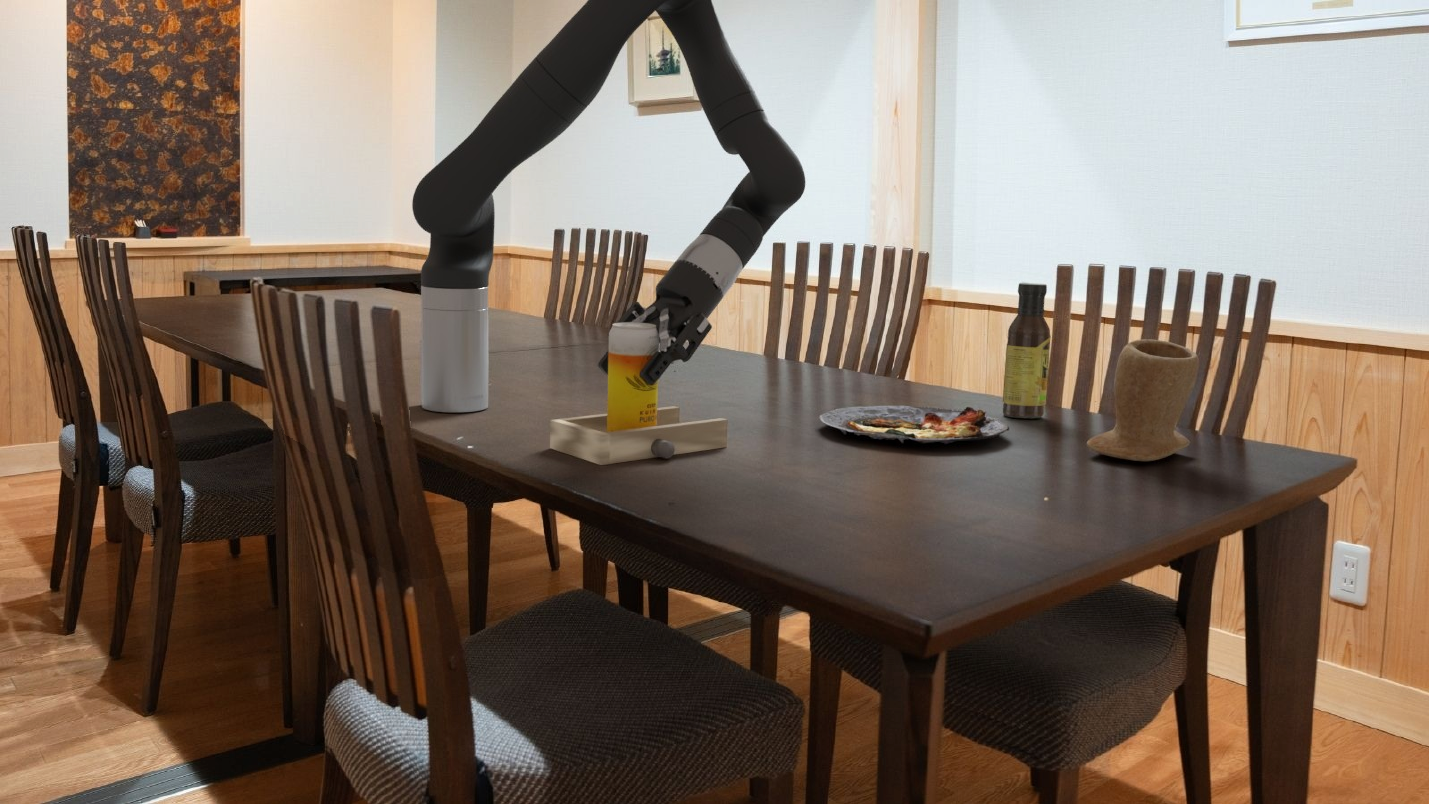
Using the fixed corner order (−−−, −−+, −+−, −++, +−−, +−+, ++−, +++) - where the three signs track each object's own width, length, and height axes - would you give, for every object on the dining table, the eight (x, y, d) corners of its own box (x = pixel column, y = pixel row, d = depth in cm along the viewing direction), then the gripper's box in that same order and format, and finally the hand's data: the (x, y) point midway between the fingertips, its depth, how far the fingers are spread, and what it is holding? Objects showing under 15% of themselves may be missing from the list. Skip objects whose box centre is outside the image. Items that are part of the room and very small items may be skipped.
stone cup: (1165, 474, 146) (1178, 350, 143) (1073, 457, 154) (1084, 339, 151) (1213, 457, 157) (1225, 342, 154) (1125, 441, 165) (1135, 332, 162)
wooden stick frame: (541, 445, 149) (541, 417, 148) (663, 429, 161) (664, 403, 161) (611, 468, 138) (611, 438, 137) (737, 449, 150) (738, 422, 150)
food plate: (1023, 429, 170) (1024, 405, 170) (986, 462, 149) (987, 434, 149) (853, 415, 181) (854, 391, 180) (797, 443, 160) (797, 417, 159)
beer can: (648, 452, 145) (652, 328, 143) (600, 449, 147) (602, 325, 144) (661, 443, 151) (664, 323, 149) (614, 439, 152) (617, 321, 150)
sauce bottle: (1048, 421, 178) (1059, 285, 174) (1005, 419, 178) (1015, 284, 175) (1039, 413, 184) (1050, 282, 181) (998, 411, 184) (1007, 280, 181)
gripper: (648, 254, 155) (572, 348, 150) (721, 262, 144) (642, 363, 139) (680, 294, 159) (607, 387, 154) (752, 304, 149) (676, 404, 143)
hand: (623, 375), depth 146 cm, fingers open, 8 cm apart
